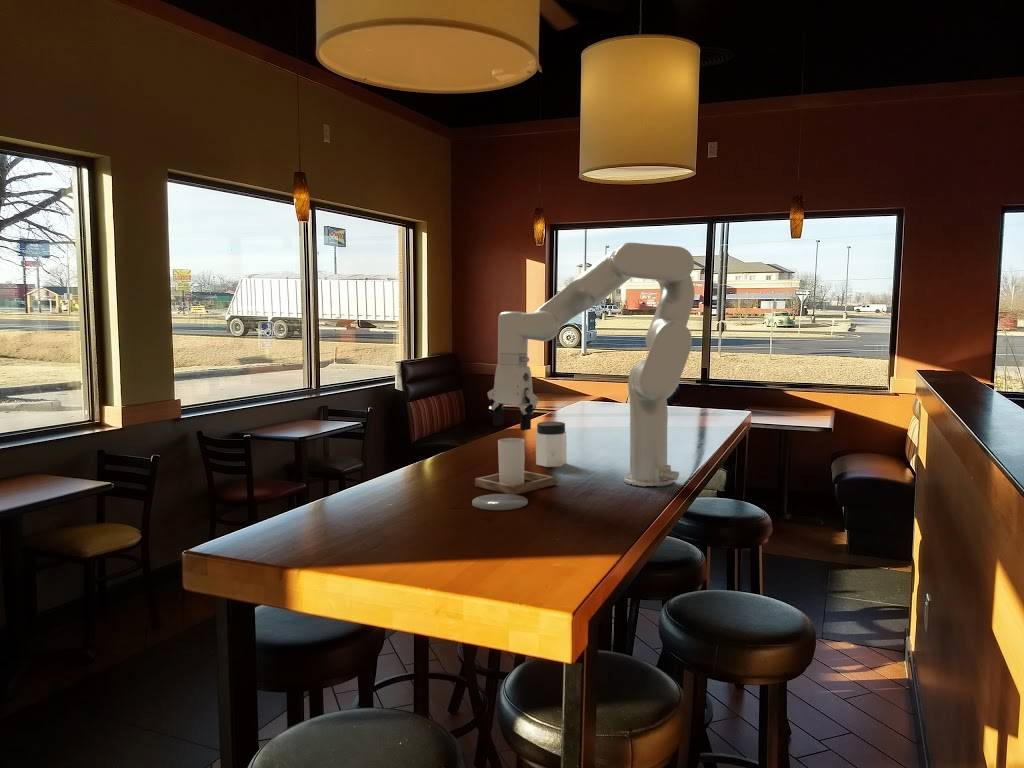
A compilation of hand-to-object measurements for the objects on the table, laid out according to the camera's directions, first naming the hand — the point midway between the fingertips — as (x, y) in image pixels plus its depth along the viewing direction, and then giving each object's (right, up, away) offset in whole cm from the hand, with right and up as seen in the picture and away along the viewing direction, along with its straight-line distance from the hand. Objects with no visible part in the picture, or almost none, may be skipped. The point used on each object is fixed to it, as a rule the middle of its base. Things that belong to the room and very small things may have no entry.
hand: (511, 427), depth 195 cm
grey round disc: (-3, -17, -16) cm, 23 cm away
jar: (+12, -13, +28) cm, 32 cm away
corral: (+1, -15, +2) cm, 15 cm away
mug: (+1, -15, +2) cm, 15 cm away
